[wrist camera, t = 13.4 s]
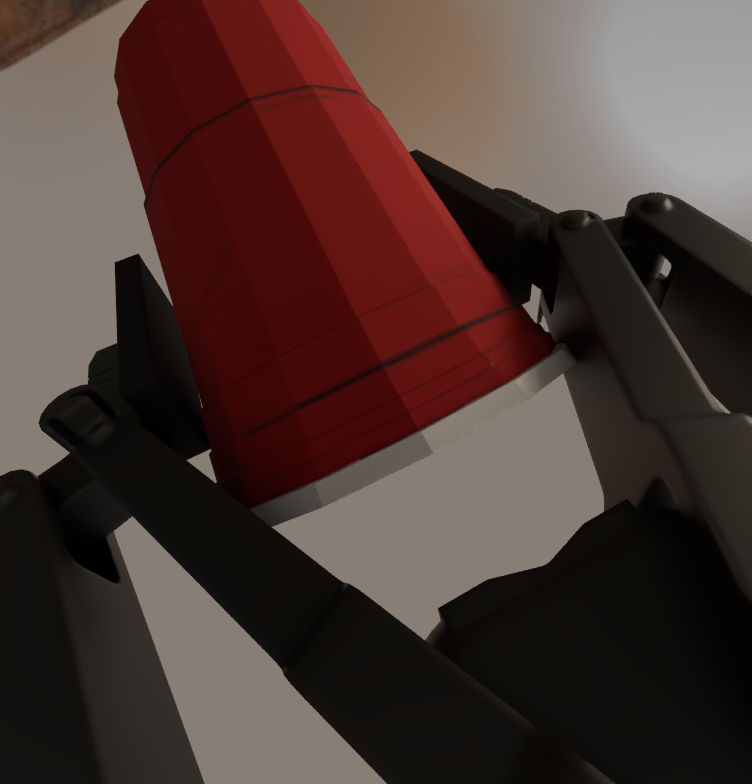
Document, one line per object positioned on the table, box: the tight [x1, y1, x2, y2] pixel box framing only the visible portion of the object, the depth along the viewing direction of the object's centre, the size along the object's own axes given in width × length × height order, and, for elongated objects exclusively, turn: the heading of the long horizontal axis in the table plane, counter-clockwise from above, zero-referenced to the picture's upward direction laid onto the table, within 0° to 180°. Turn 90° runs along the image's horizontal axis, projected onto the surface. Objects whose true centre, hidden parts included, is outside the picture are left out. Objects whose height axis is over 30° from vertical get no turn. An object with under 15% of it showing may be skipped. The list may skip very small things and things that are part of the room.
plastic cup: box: [114, 0, 577, 527], centre depth 12 cm, size 11×11×12 cm
